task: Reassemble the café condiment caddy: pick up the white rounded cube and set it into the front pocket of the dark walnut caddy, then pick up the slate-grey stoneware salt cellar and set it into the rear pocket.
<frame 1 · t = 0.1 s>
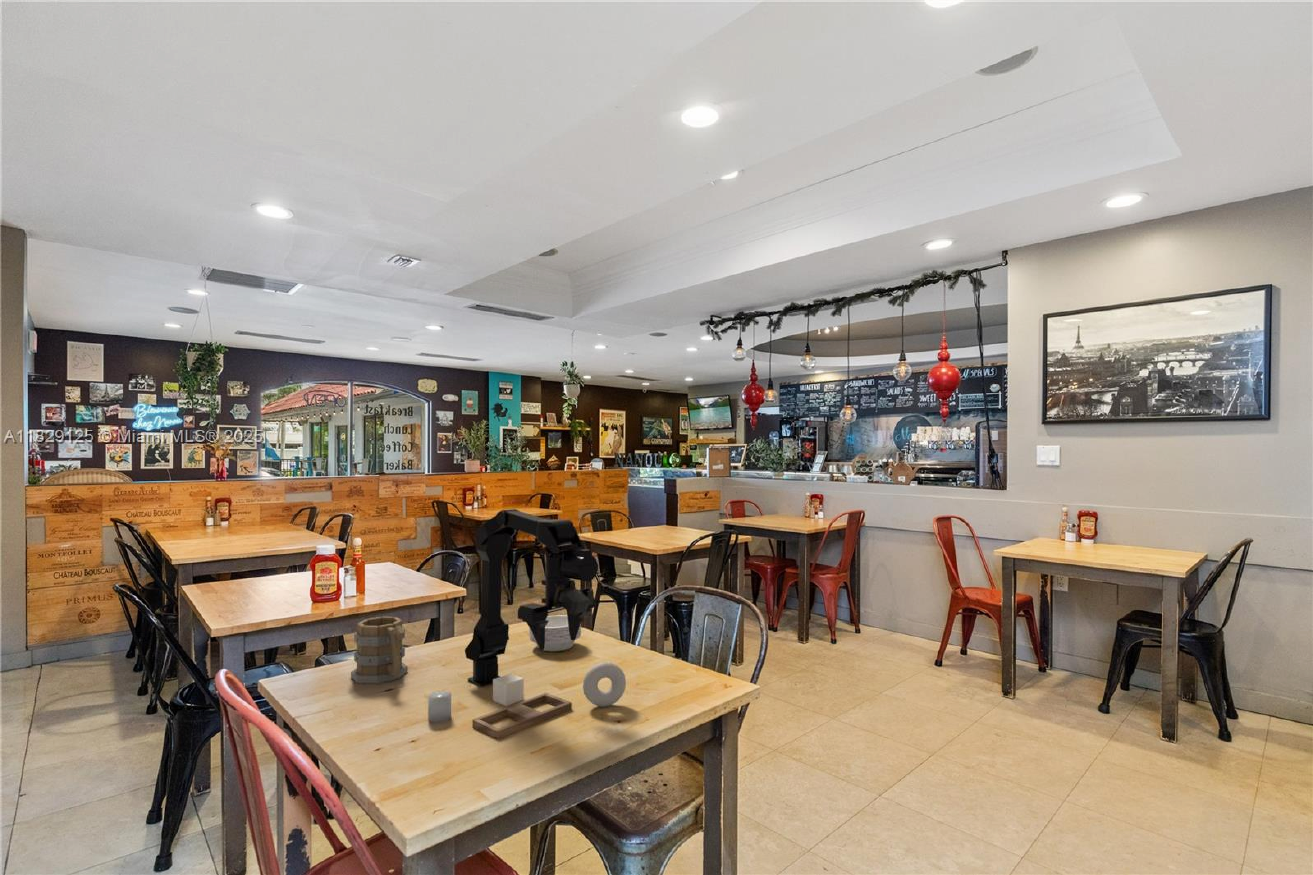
hand: (557, 644, 147), 15 cm above the table, fingers open, 9 cm apart
white rounded cube: (508, 700, 152), on the table
salt cellar: (439, 718, 142), on the table
tankard: (384, 679, 167), on the table
paper bowls: (555, 648, 193), on the table
donut: (604, 707, 148), on the table
walnut caddy: (523, 717, 142), on the table
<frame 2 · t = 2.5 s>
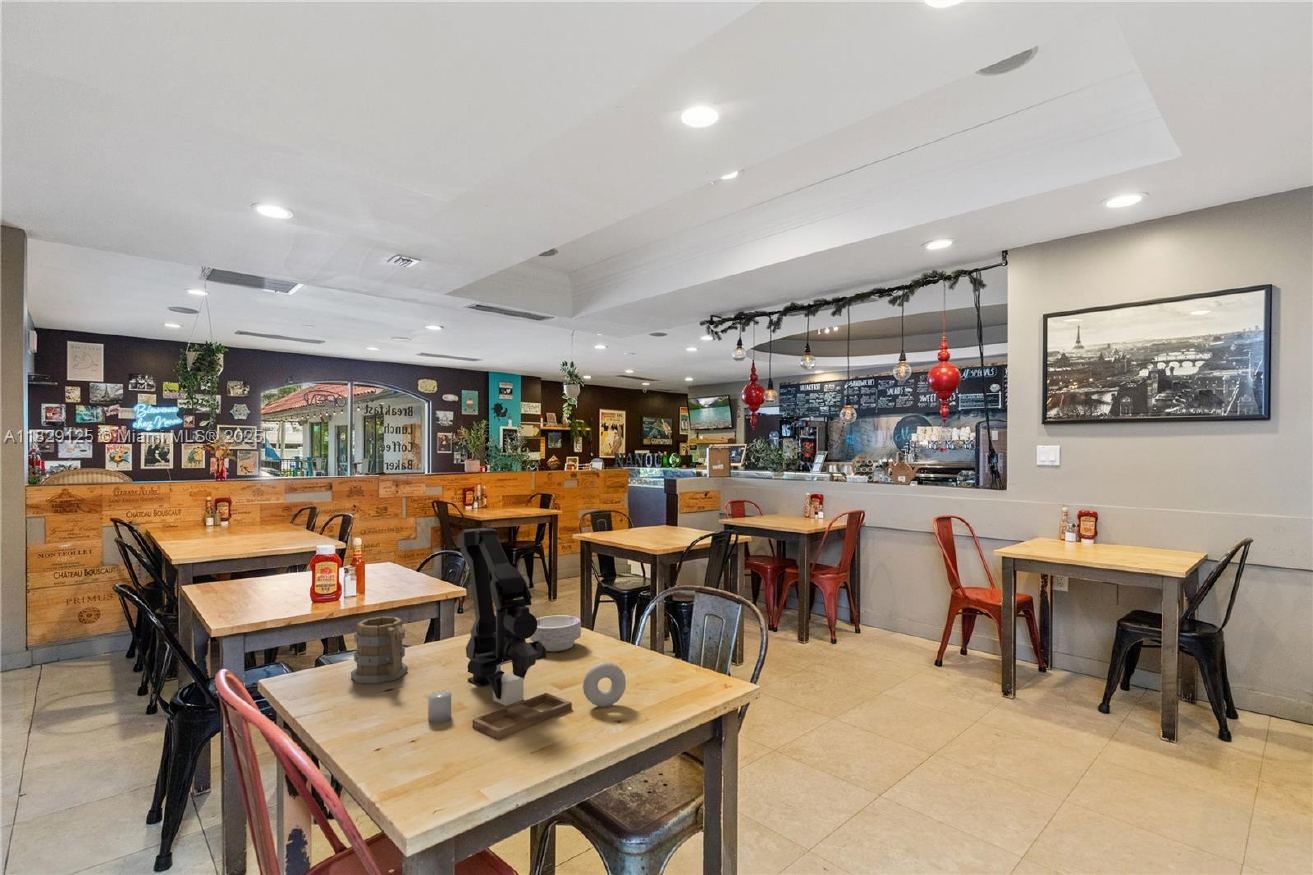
hand: (508, 695, 152), 1 cm above the table, fingers closed on white rounded cube, 5 cm apart
white rounded cube: (508, 699, 152), on the table, touching gripper
everything else where it was.
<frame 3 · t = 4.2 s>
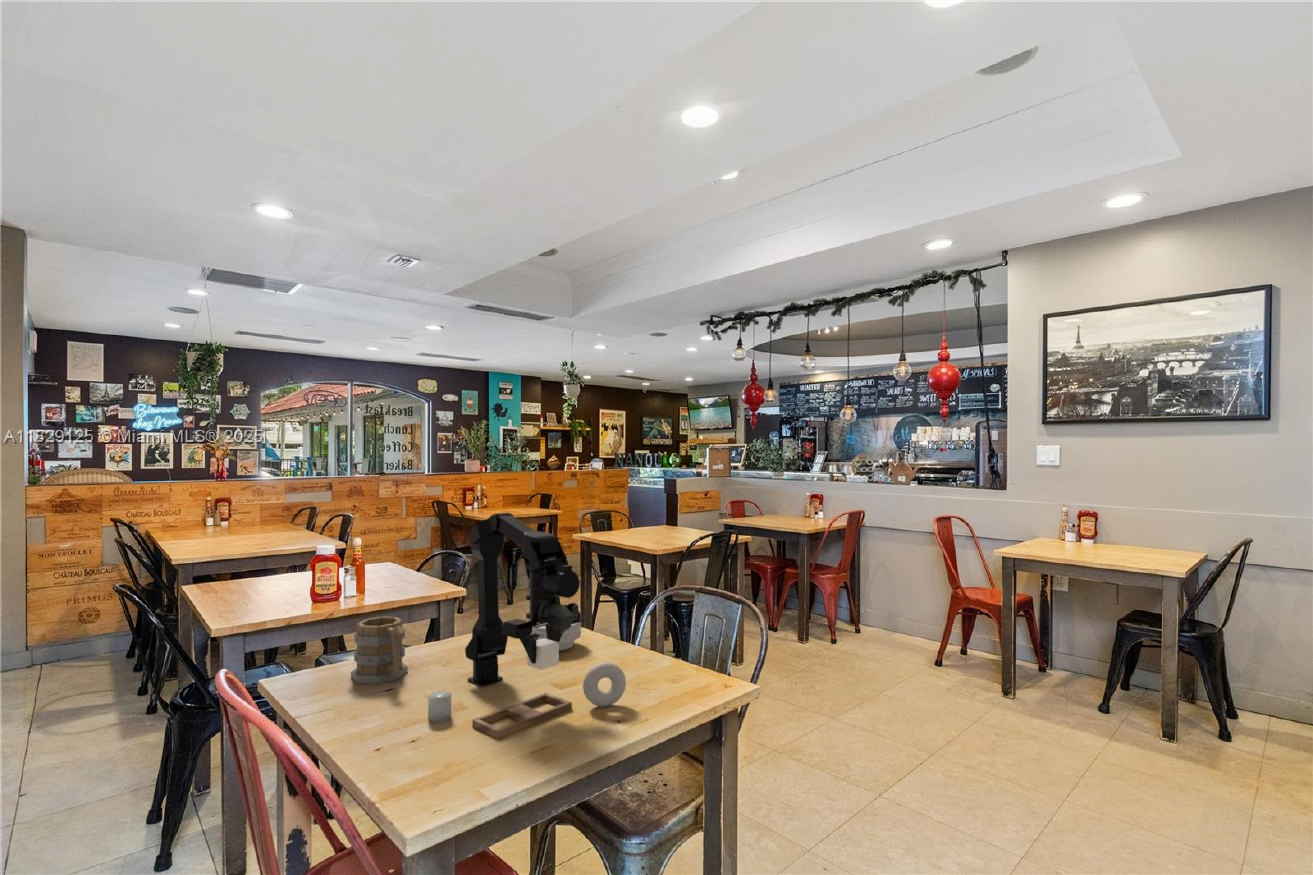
hand: (542, 660, 147), 11 cm above the table, fingers closed on white rounded cube, 5 cm apart
white rounded cube: (542, 664, 147), point 10 cm above the table, touching gripper
everything else where it was.
when the fingers open (3 cm above the table, at t = 6.0 s): white rounded cube drops 2 cm, resting in walnut caddy.
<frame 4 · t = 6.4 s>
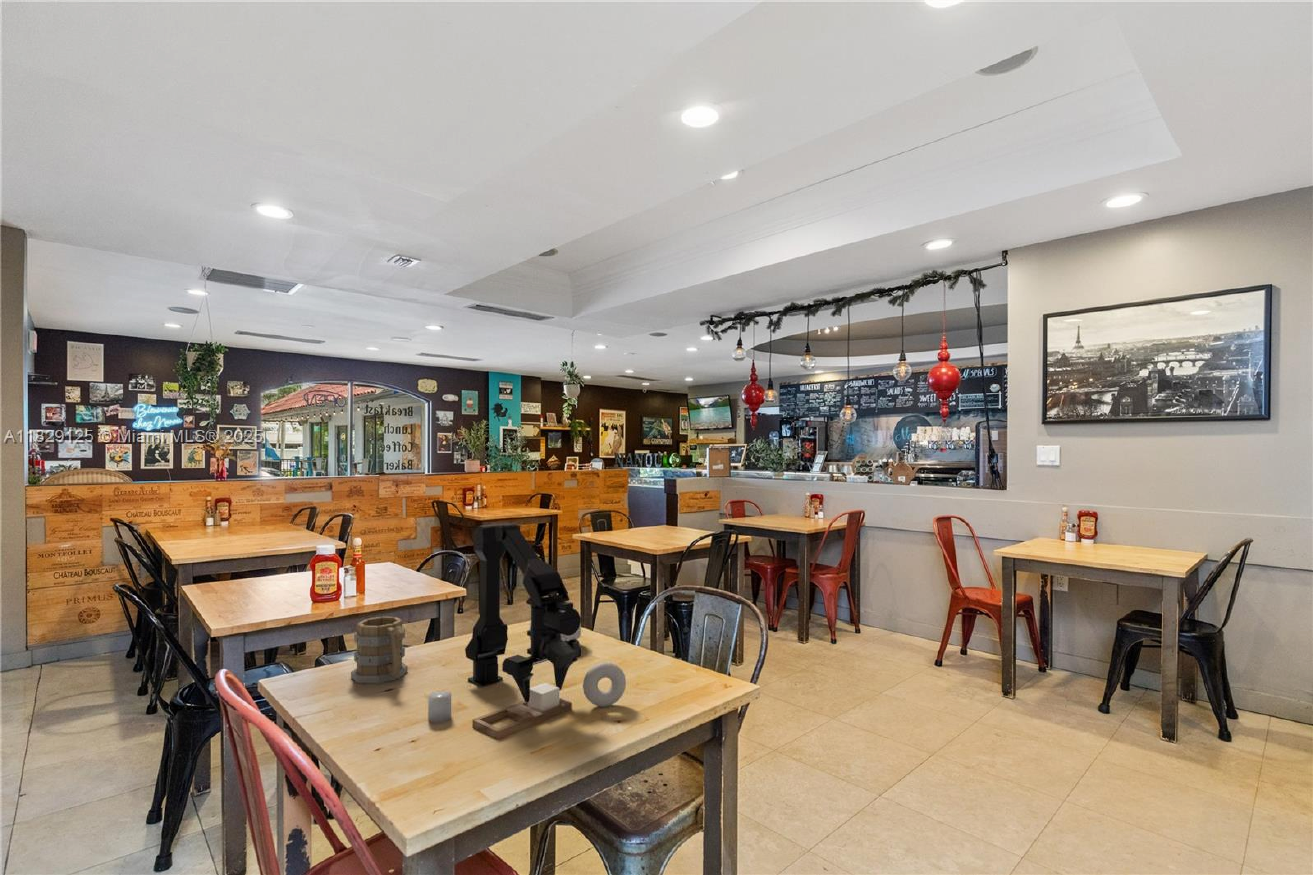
hand: (543, 695, 146), 3 cm above the table, fingers open, 9 cm apart
white rounded cube: (543, 710, 146), resting in walnut caddy
everything else where it was.
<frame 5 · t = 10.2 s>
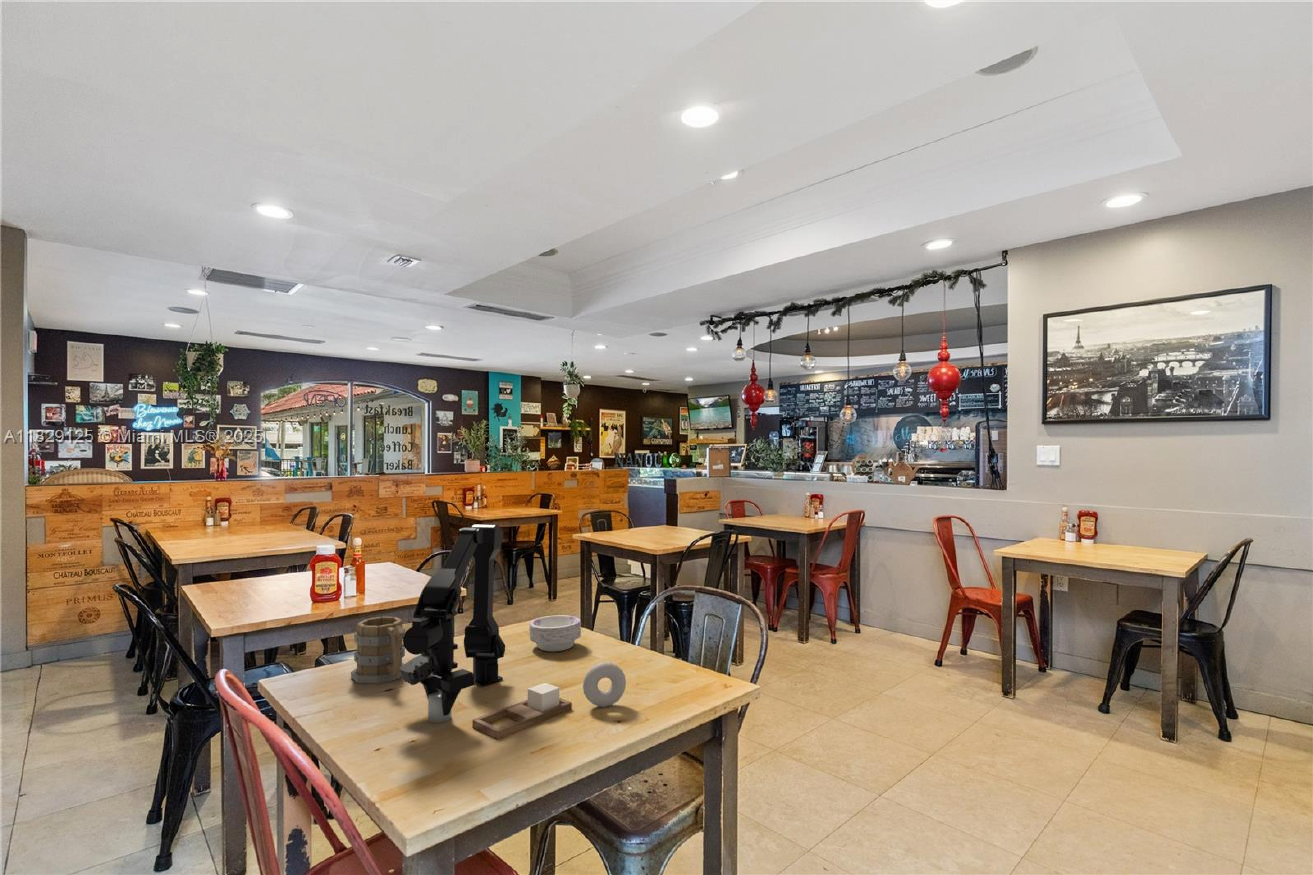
hand: (439, 712, 142), 1 cm above the table, fingers closed on salt cellar, 5 cm apart
salt cellar: (439, 717, 142), on the table, touching gripper
everything else where it was.
when the fingers open (3 cm above the table, at t = 14.1 s): salt cellar drops 2 cm, resting in walnut caddy.
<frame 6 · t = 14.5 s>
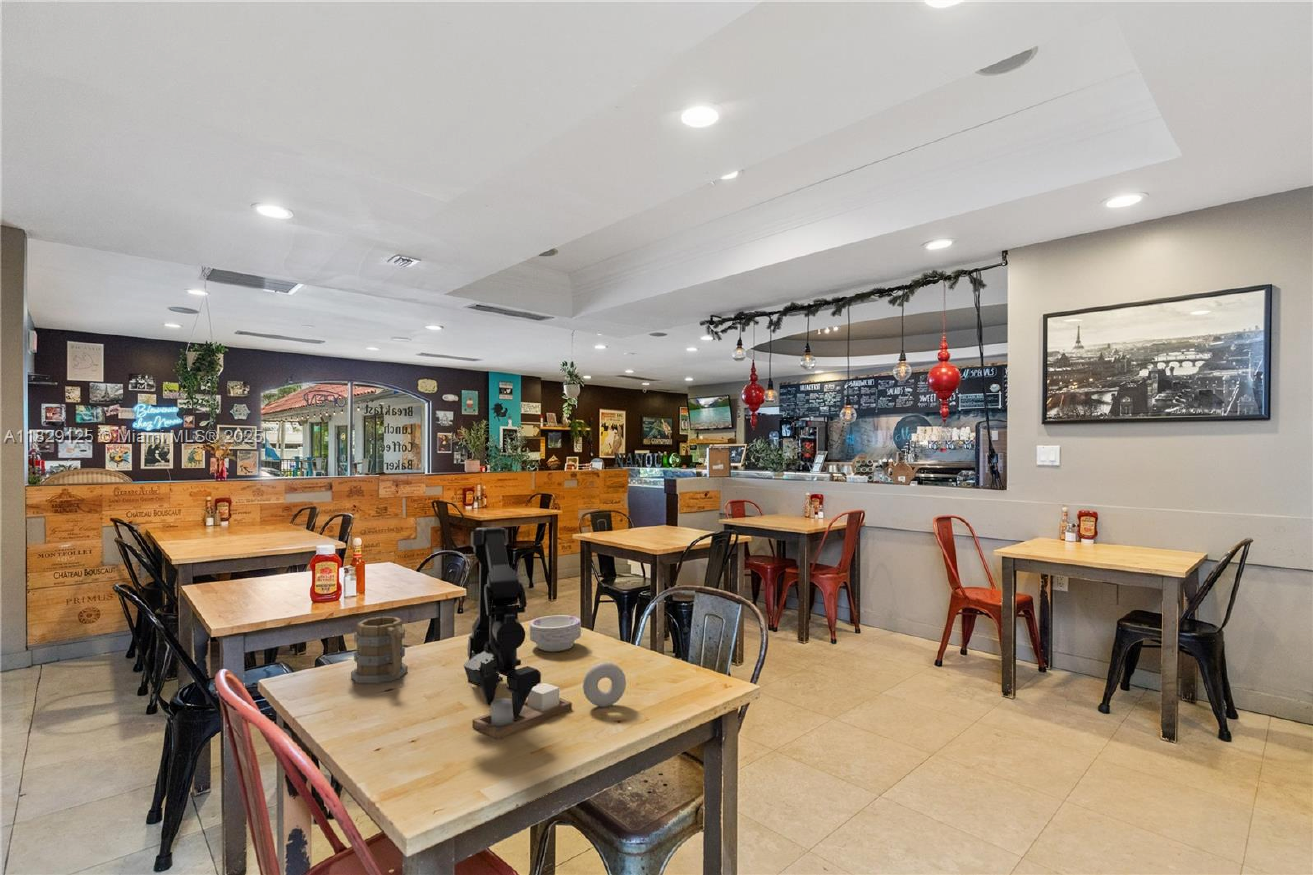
hand: (502, 710, 138), 3 cm above the table, fingers open, 9 cm apart
salt cellar: (502, 726, 138), resting in walnut caddy
everything else where it was.
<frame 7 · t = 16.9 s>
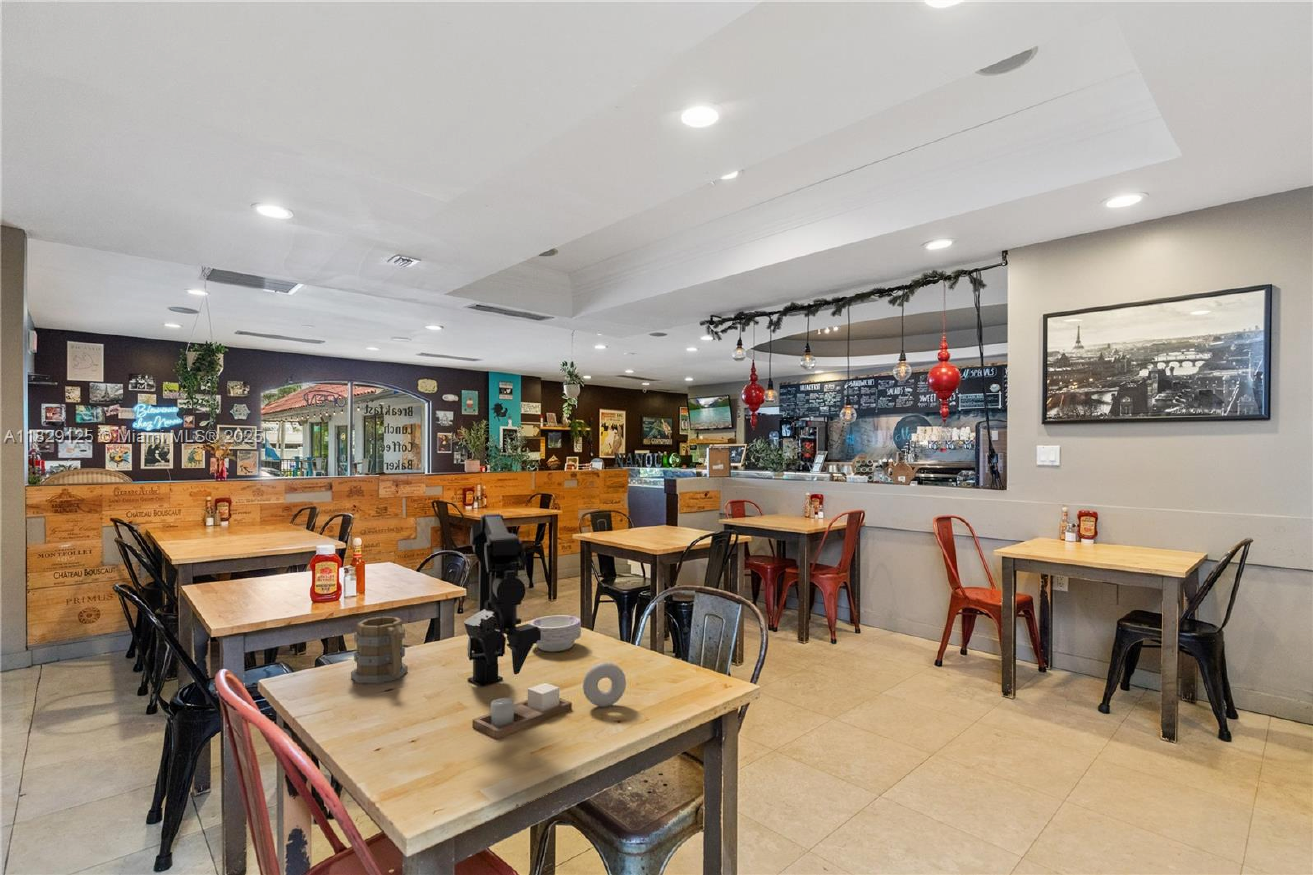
hand: (503, 669, 138), 12 cm above the table, fingers open, 9 cm apart
nothing on the table moved.
at the end: white rounded cube 0.0 cm from the target spot on the walnut caddy, point 0.0 cm above the walnut caddy's base; salt cellar 0.1 cm from the target spot on the walnut caddy, point 0.0 cm above the walnut caddy's base; salt cellar tilted 0° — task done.
